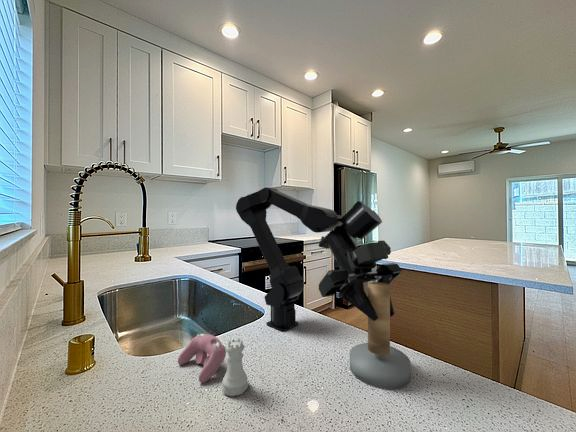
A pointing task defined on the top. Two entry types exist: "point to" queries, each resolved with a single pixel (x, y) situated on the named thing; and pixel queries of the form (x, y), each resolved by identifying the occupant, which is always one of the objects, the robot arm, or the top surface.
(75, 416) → the top surface
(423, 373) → the top surface
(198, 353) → the video game controller
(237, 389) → the rook chess piece
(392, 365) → the grey plinth
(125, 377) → the top surface
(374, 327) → the teak pillar
